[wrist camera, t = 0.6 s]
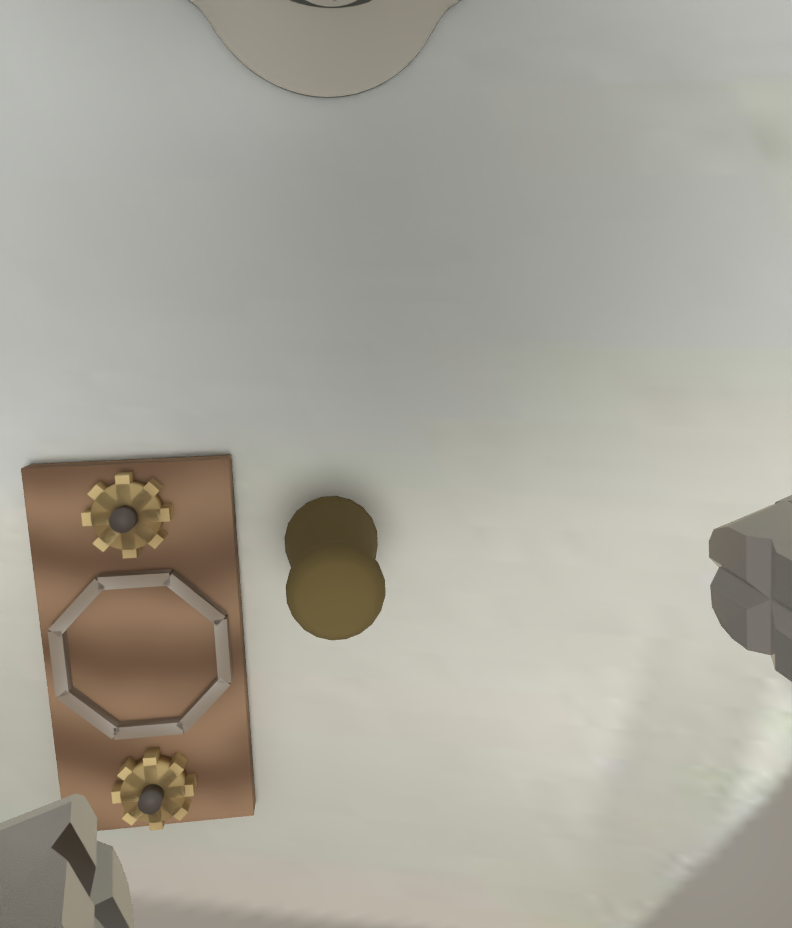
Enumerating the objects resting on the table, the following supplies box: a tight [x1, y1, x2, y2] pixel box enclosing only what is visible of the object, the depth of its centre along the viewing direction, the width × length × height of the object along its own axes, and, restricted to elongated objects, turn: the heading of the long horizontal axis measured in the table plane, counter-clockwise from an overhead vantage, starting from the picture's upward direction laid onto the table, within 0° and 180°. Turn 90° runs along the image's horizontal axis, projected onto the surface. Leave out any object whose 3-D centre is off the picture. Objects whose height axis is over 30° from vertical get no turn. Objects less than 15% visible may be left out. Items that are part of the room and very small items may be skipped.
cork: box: [285, 496, 385, 640], centre depth 42 cm, size 6×6×11 cm
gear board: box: [21, 455, 255, 831], centre depth 45 cm, size 24×12×4 cm, turn 2°
